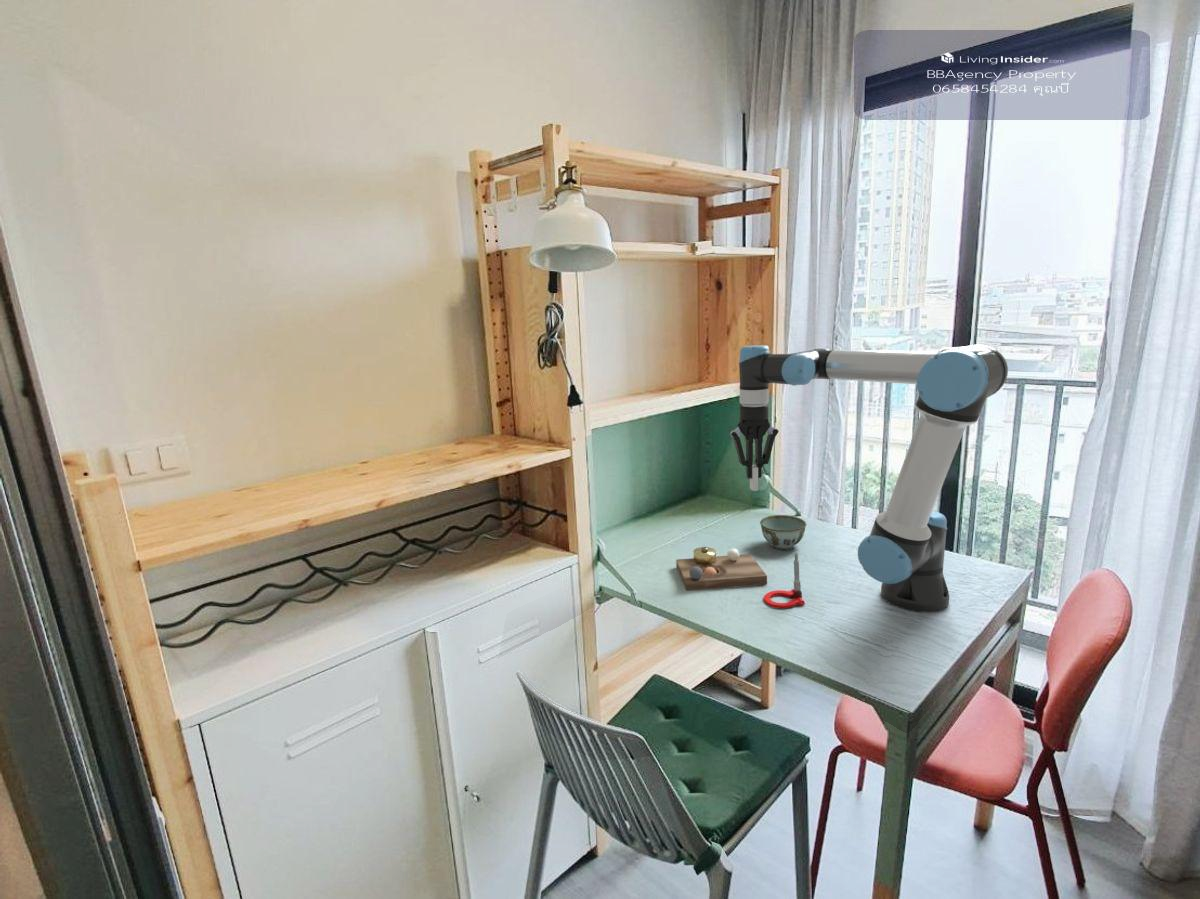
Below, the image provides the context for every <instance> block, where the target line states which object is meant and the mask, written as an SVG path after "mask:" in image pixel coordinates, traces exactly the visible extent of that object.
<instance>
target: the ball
mask: <svg viewBox="0 0 1200 899" xmlns="http://www.w3.org/2000/svg"><path fill="white" fill-rule="evenodd" d="M704 573H705V574H709V575H714V574H717V572H716V570H715V569H714V568H713V567H707V568H706V569H705V570H704Z"/></svg>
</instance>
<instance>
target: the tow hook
mask: <svg viewBox="0 0 1200 899" xmlns="http://www.w3.org/2000/svg"><path fill="white" fill-rule="evenodd" d="M793 554H794V560H793V574H794V575H793V576H794V580H793V589H791V590H779V589H778V590H771V591H769V592H767V593H765V594H764V596H763V602H764V603H765V604H766V605H767V606H769V607H772V608H775V609H790V608H792V607H795V606H797V605H800V606H801V607H802V606H804V605H805V604H806V602H805V600H804V599H803V592H802V591H801V590H802V589H801V588H802V587H801V586H802V585H801V580H800V561H799V558H798V557H799V555H798V554H799V553H798V552H794V553H793ZM775 596H783V597H788V598H791V600H790V601H788V602H776V601H774V600H772V599H771V598H773V597H775Z"/></svg>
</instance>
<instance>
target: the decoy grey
mask: <svg viewBox="0 0 1200 899" xmlns="http://www.w3.org/2000/svg"><path fill="white" fill-rule="evenodd" d="M689 574H690V576H691V578H693V579H699V578H701V576H702V570H701V568H700V567H698V566H694V567H692V568H691V569H690V571H689Z"/></svg>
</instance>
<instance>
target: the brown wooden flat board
mask: <svg viewBox="0 0 1200 899" xmlns="http://www.w3.org/2000/svg"><path fill="white" fill-rule="evenodd" d="M675 563H676V564H675V565H676V569H677V572H678V574H679V576H680V579H681V582H682V584H683V586H684V588H685V591H697V590H708V589H709V590H710V589H711V590H713V589H724V588H737V587H749V586H750V587H751V586H762V585H763V586H764V585H767V584H768V575H767V574H766V572H764V570H763V568H762V567H761V566H760V565H759V564H758V562H757V561H756V559H755V558H754V557H753V555H752V554H751V553H748V554H747V553H745V554H740V556H739V558H738V560H736V561H732V560H730V559H729V558H728V556H727V555H719V556H717V555H716V561H715V562H714V563H711V564H700V563H697V562H695V561H694V557H692V558H690V557H689V558H679V559H678V558H677V559H676V561H675ZM694 566H698V567H700V568H701V570H702V576H701V578H699V579H693V578H691V576H690V574H689V571H690V569H691V568H692V567H694ZM707 567H713V568H714V569H715V570H716V572H717V574H714V575H709V574H705V573H704V570H705V569H706V568H707Z"/></svg>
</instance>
